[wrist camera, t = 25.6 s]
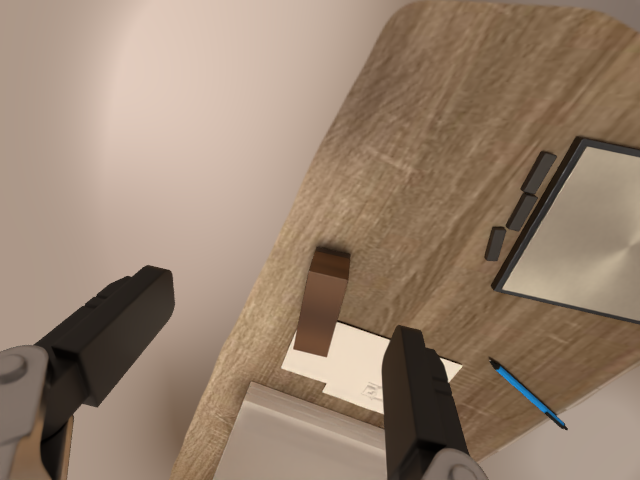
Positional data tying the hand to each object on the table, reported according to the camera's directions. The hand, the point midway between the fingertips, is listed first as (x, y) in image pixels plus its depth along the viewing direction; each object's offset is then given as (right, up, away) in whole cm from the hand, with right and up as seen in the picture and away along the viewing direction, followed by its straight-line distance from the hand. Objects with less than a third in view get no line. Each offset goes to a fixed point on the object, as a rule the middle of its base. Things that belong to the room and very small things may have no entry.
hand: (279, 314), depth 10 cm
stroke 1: (+21, +2, +23) cm, 31 cm away
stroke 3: (+23, +9, +19) cm, 31 cm away
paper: (+8, -18, +36) cm, 41 cm away
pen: (+32, -20, +33) cm, 50 cm away
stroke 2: (+23, +5, +21) cm, 32 cm away
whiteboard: (+34, +2, +22) cm, 40 cm away
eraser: (+2, -4, +30) cm, 30 cm away
